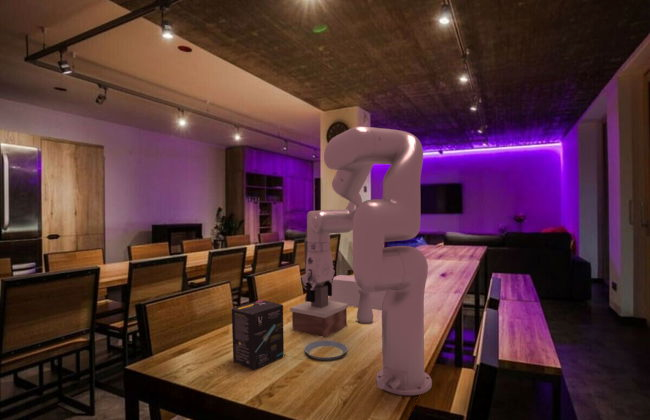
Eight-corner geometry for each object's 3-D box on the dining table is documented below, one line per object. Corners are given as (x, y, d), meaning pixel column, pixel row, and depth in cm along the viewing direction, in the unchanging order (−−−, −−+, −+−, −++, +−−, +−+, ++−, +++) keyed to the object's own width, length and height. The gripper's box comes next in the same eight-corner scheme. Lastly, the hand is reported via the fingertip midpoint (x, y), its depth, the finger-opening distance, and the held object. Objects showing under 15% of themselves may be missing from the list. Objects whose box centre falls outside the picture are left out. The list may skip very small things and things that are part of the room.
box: (324, 339, 112) (324, 317, 112) (292, 332, 119) (292, 311, 119) (346, 328, 122) (346, 307, 122) (315, 321, 130) (315, 302, 130)
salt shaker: (372, 326, 123) (372, 288, 123) (356, 325, 124) (355, 288, 124) (373, 321, 129) (373, 285, 129) (357, 320, 130) (357, 284, 130)
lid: (324, 318, 111) (324, 293, 111) (290, 311, 119) (289, 287, 119) (348, 307, 122) (348, 284, 122) (315, 301, 130) (315, 280, 130)
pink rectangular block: (409, 306, 148) (408, 280, 148) (401, 313, 139) (400, 285, 139) (340, 298, 164) (339, 274, 164) (328, 303, 155) (328, 278, 155)
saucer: (354, 353, 102) (354, 345, 101) (332, 369, 92) (332, 360, 92) (320, 345, 108) (320, 337, 108) (296, 359, 98) (295, 350, 98)
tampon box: (262, 349, 105) (262, 299, 105) (285, 357, 99) (284, 303, 99) (231, 361, 97) (230, 307, 97) (253, 371, 91) (252, 313, 91)
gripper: (312, 250, 111) (313, 306, 111) (342, 245, 126) (342, 294, 126) (293, 249, 116) (294, 302, 116) (324, 244, 130) (325, 292, 130)
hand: (319, 298), depth 121 cm, fingers open, 9 cm apart
